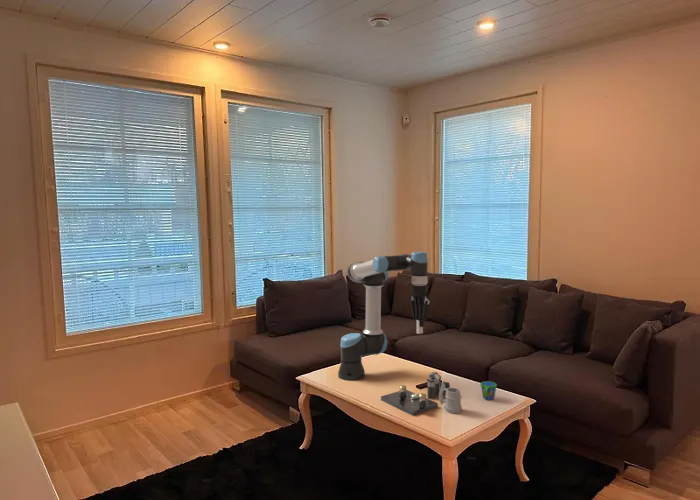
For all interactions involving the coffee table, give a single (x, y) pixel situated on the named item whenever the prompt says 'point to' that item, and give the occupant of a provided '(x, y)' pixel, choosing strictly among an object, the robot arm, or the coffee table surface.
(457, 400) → the mug
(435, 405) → the control panel
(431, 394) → the camera
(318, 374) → the coffee table surface
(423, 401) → the knob right
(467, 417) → the coffee table surface
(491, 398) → the snack cup
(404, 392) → the knob left
